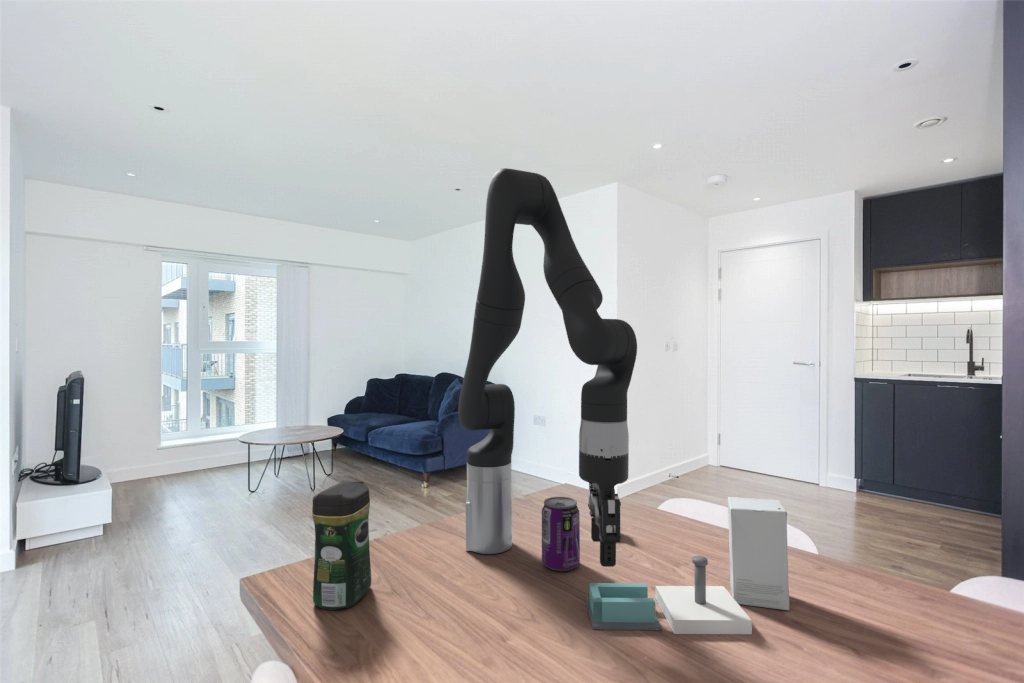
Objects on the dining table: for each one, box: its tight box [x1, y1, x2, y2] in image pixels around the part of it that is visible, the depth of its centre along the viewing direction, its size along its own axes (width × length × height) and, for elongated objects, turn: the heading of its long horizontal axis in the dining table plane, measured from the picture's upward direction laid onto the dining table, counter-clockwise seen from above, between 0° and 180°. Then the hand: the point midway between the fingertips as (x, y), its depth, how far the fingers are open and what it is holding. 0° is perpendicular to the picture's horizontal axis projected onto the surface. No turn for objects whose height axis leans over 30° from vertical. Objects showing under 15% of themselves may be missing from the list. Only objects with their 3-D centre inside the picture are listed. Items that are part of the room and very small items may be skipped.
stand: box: [654, 555, 753, 635], centre depth 76 cm, size 11×10×9 cm
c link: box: [588, 582, 656, 623], centre depth 76 cm, size 9×6×3 cm, turn 89°
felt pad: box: [585, 598, 663, 631], centre depth 76 cm, size 10×8×1 cm
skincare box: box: [727, 496, 790, 611], centre depth 81 cm, size 8×7×16 cm
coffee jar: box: [311, 479, 372, 611], centre depth 82 cm, size 10×8×19 cm
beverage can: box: [541, 496, 581, 572], centre depth 93 cm, size 7×7×12 cm
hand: (602, 552), depth 77 cm, fingers open, 8 cm apart
